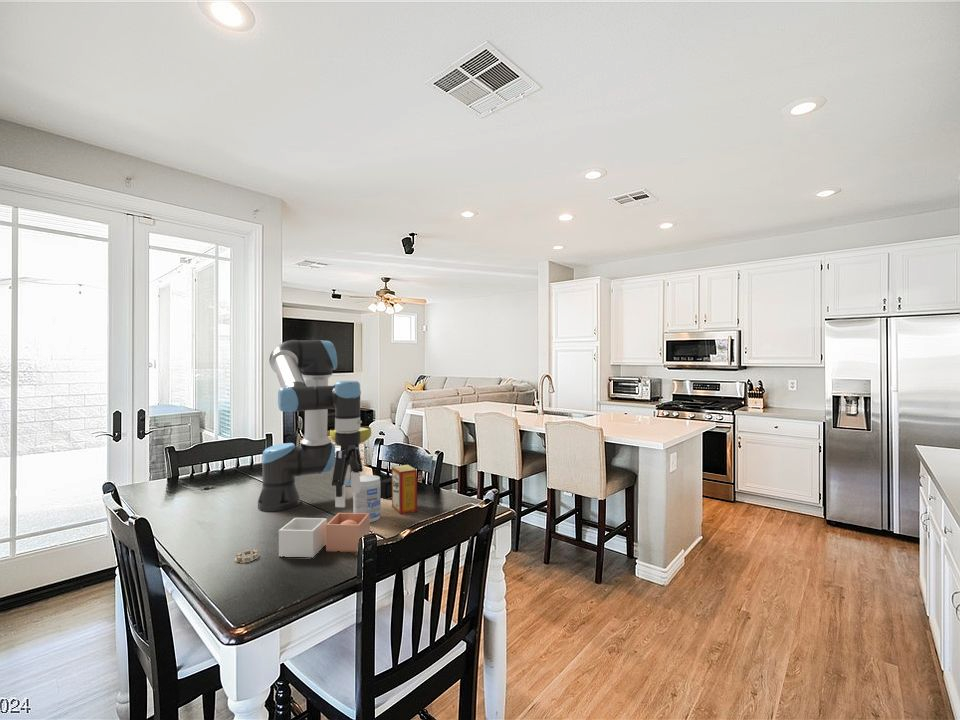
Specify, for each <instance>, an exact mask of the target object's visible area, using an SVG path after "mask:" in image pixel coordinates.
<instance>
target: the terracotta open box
mask: <svg viewBox="0 0 960 720" xmlns="http://www.w3.org/2000/svg"><path fill="white" fill-rule="evenodd" d="M346 520H353V521H355V522H357V523H358V525H355V524H341V523H342V522H343V521H346ZM370 523H371V522H370V513H353V512H338V513H336V514H335V515H334V516H333V517H332V518H331V520H329V521H327V524H326V546H325V551H326V552H337V551H340V553H341V552H342V553H347V552H349V553H358V552H357V548H358V542H359V539H360V538H361V537H362V536H364V535H366V534H371V526H370V525H371V524H370Z"/></svg>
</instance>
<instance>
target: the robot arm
mask: <svg viewBox="0 0 960 720" xmlns="http://www.w3.org/2000/svg"><path fill="white" fill-rule="evenodd" d="M269 365H270V369H271V370H272V371H273V372H274V373H275V374H276V377H277V379H278V382H279V386H280V388H279V389H278V391H277V405H278V410H280V411H281V412H290V413H293V412H304V437H303V438H302V439H301V440H300V445H297V446H296V445H295V443H293V442H287V443H286V442H285V443H279V444H276V445H275V444H274V445H271V446H269V447H267V448H265V449H264V450H263V451H262V456H261V458H262V460H261V464H262V488H261V491H260V494H259V497H258V499H257V510H259V509H260V511H262V510H263V512H278V511H285V510H289V509H294V508H295V507H297V506H299V505H300V503H301V497H300V493H299V490H298V488H297V485H296V477H301V476H302V477H303V476H309V475H318V474H320V475H321V474H323V473H328V472H330V471H332V469H333V474H332V479H331V480H332V481H331V486H333V487H334V488H335V489H334V496H335V497H334V498H335V499H334V501H335V502H334V504H335V505H334V506H335V507H334V508H346V487H345V485H344V481H345V480H346V475H347V472H348V467H351V469H352V472H351V487H350V493H351V494H353V493H360V476H361V473H360V472H363V471H364V469H363V463H362V457H361V452H360V444H359V443H360V431H358V430H360V426H361V424H363V421H362V420H361V394H362V391H361V383H360V382H359V381H357V380H339V381H336V383H335V384H333V385H329V378H331V376H333V371H334V370H337V368H338V356H337V351H336V347H335V345H334V343H333V342H332V341H330V340H322V339H308V340H307V339H306V340H305V339H304V340H302V339H301V340H299V339H298V340H297V339H291V340H286V341H283V342H281V343H280V344H278V345H277V346H275V348H273V350H272V351H271V353H270V354H269ZM328 410H334V411H335V415H334V416H335V417H334V428H335V430H336V431H337V432H336V433H335V441H334V442H335V444H334V443H333V442H332V439H331V437H329V436H328ZM335 445H337V446H340V450H336V446H335Z"/></svg>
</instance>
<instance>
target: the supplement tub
mask: <svg viewBox="0 0 960 720" xmlns="http://www.w3.org/2000/svg"><path fill="white" fill-rule="evenodd" d="M380 481H381V477H380V476H379V475H376V474H375V475H374V474H364V475H360V493H352V496H353V497H352V499H353V500H352V503H353V504H352V505H353V506H352V508H353V509H352V511H353V512H352V513H370V523H374V522H377V521H379V519H380V518H381V507H382V505H381V503H382V501H381V499H382V498H381V483H380Z"/></svg>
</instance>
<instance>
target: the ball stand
mask: <svg viewBox="0 0 960 720" xmlns="http://www.w3.org/2000/svg"><path fill="white" fill-rule="evenodd" d="M243 552H244V553H243ZM243 552H238V553H237V554H236V556H235V558H234V562H235V561H236V562H240V563H239V564H243V563H242V562H243V561H244V562H247V561H251V557H250V556H248V557H244V560H243V559H242V557H241V556H242V554H244V555H247V554H251V553H253V554H254V555H253V559H255V558H256V557H258V554H259V550H257V549H253V550H252V551H251V549H247V550H246V549H245V550H244V551H243ZM236 562H235V563H236Z"/></svg>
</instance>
